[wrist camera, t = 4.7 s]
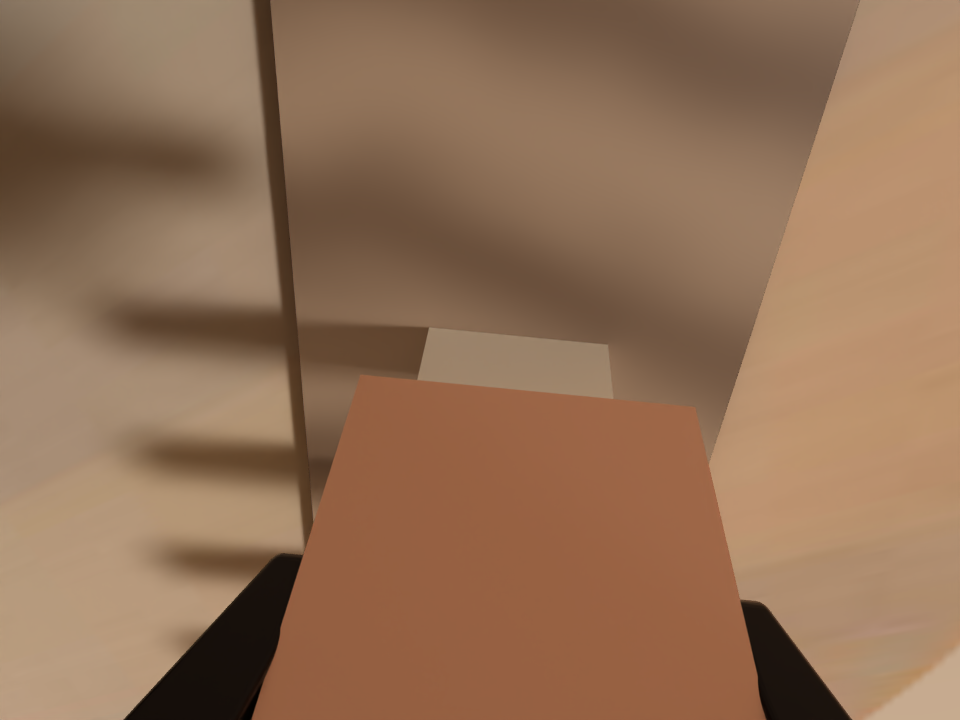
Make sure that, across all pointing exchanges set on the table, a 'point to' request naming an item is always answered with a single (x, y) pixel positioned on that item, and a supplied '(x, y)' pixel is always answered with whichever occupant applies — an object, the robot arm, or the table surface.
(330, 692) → the terracotta domino
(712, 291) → the walnut board
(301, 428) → the table surface
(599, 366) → the domino
